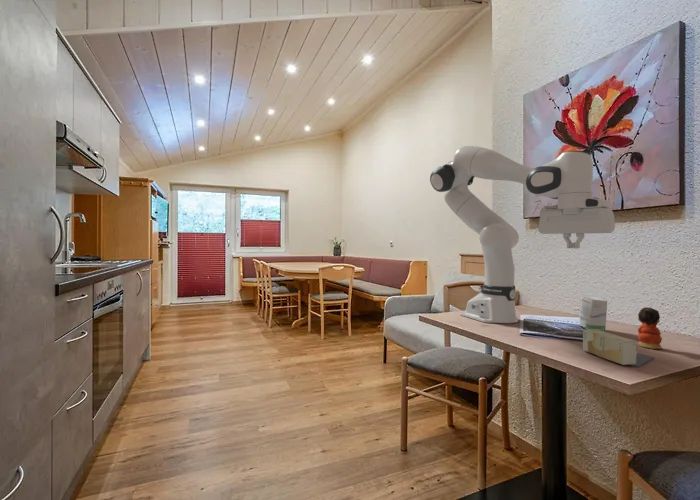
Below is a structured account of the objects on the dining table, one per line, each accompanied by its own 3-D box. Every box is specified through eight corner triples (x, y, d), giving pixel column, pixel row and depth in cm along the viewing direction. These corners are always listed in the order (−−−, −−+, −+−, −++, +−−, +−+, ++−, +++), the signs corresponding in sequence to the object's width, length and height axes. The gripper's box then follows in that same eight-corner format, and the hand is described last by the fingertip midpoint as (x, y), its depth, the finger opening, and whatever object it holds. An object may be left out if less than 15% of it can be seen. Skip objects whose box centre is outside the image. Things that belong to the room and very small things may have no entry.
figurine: (666, 351, 98) (667, 310, 98) (643, 349, 100) (644, 309, 100) (655, 345, 104) (656, 306, 104) (633, 343, 106) (634, 305, 106)
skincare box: (582, 329, 98) (622, 340, 85) (595, 328, 98) (637, 339, 86) (582, 351, 98) (622, 365, 86) (595, 350, 98) (637, 364, 86)
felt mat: (597, 357, 93) (597, 355, 93) (614, 349, 100) (614, 348, 100) (638, 367, 86) (638, 365, 86) (654, 358, 92) (654, 356, 92)
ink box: (578, 326, 126) (579, 295, 126) (594, 327, 125) (595, 296, 125) (590, 332, 118) (591, 299, 118) (607, 333, 117) (607, 300, 117)
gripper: (535, 205, 111) (534, 247, 111) (609, 199, 94) (607, 249, 94) (544, 206, 114) (543, 247, 115) (617, 201, 97) (616, 249, 98)
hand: (573, 248), depth 104 cm, fingers closed
